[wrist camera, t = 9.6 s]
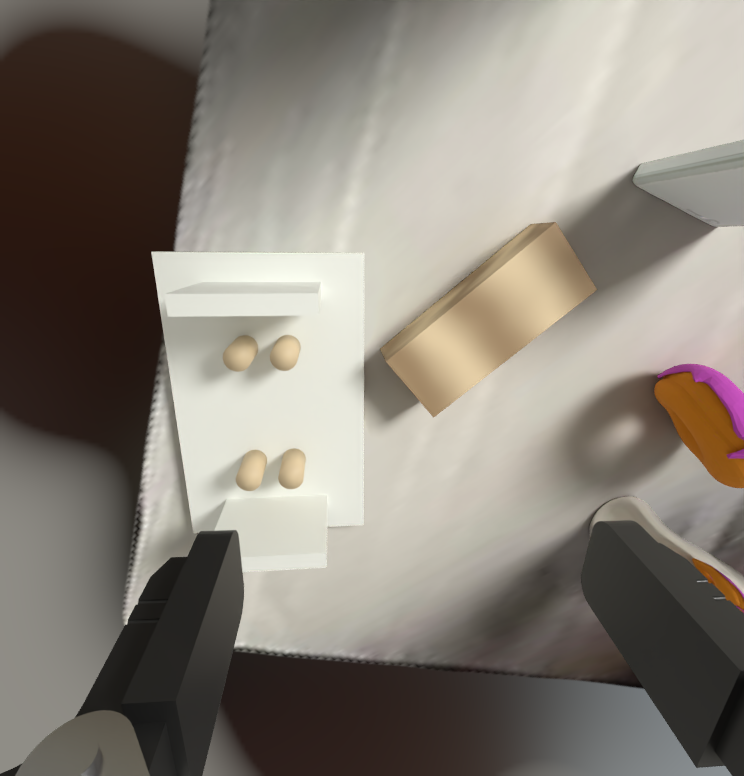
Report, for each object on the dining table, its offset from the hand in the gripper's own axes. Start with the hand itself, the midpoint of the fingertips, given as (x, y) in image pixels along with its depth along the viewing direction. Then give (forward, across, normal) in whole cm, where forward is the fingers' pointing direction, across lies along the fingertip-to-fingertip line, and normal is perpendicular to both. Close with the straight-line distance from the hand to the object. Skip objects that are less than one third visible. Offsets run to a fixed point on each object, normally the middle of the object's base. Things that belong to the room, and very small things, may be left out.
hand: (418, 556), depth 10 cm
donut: (+24, -26, +6) cm, 36 cm away
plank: (+25, -8, -1) cm, 26 cm away
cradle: (+24, +7, +6) cm, 26 cm away
